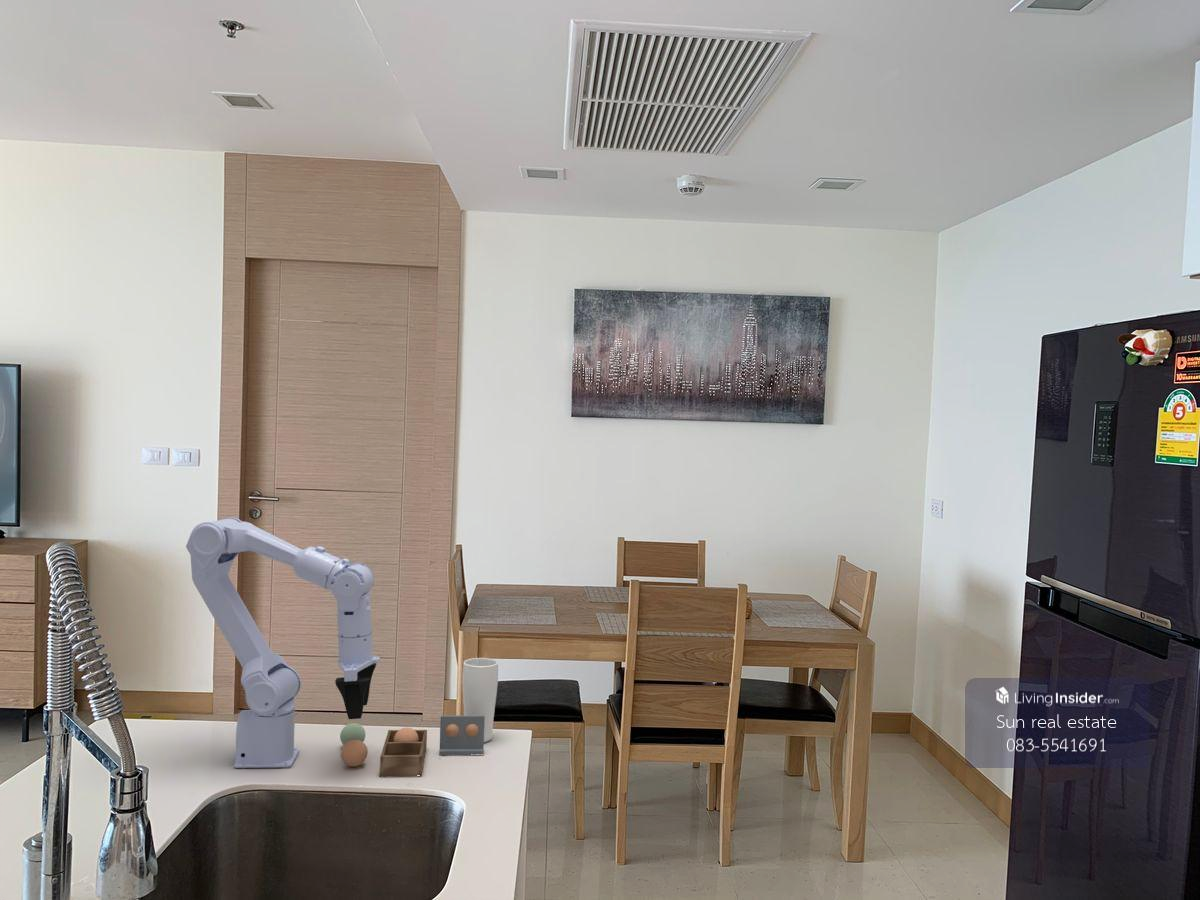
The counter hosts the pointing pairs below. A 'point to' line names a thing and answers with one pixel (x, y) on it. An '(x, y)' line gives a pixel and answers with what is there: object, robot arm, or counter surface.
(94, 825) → the counter surface
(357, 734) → the sage ball
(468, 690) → the white tall tapered cylinder
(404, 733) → the terracotta ball
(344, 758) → the terracotta ball
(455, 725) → the card
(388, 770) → the pair tray
